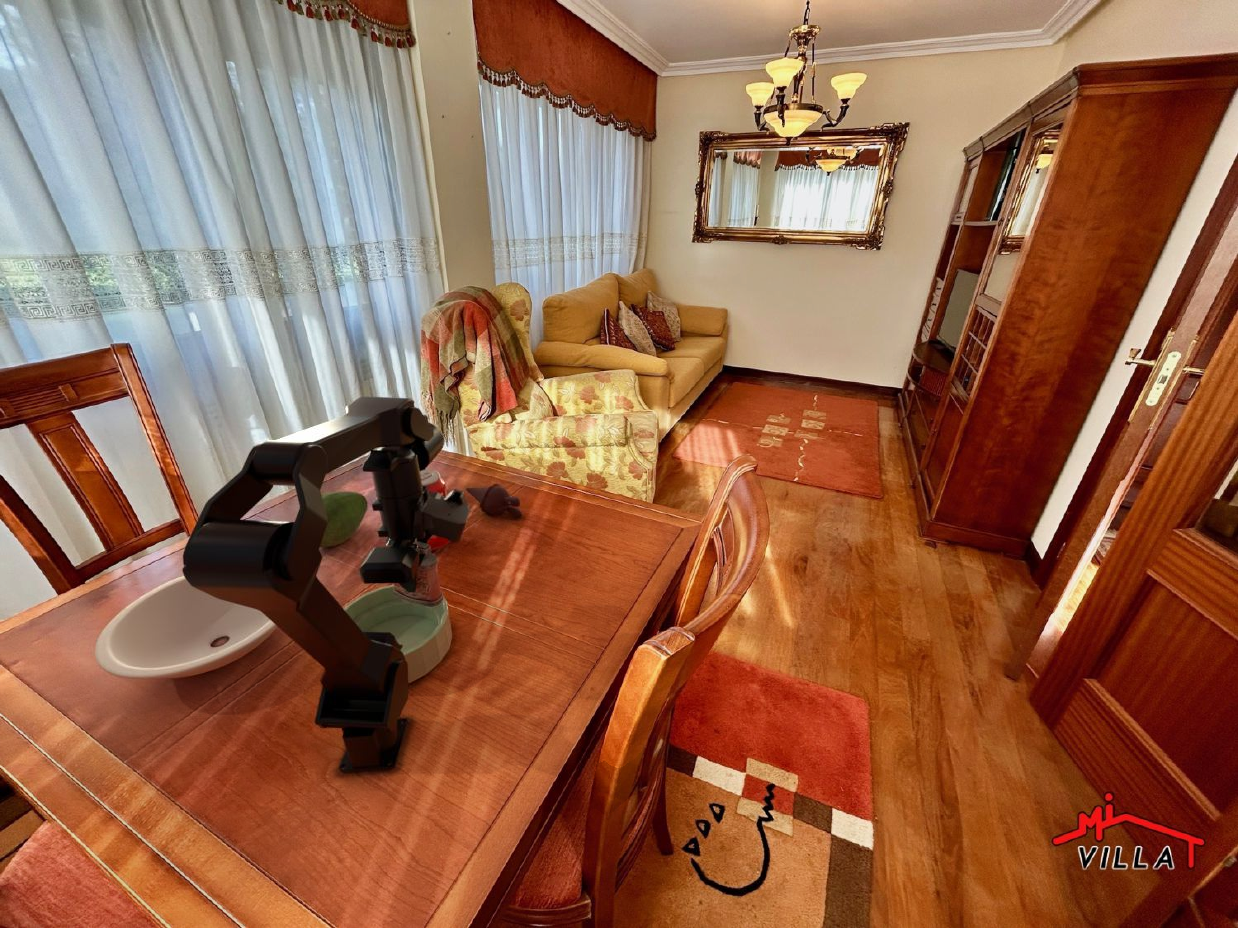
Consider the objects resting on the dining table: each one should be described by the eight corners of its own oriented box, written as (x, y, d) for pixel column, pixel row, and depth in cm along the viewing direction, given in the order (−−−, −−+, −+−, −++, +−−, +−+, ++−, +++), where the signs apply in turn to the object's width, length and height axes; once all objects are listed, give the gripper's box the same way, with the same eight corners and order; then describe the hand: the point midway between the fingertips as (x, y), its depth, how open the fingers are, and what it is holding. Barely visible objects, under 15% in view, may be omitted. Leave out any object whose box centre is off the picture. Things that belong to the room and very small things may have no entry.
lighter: (388, 595, 74) (376, 540, 70) (404, 582, 77) (394, 527, 73) (433, 610, 72) (424, 553, 67) (448, 595, 75) (440, 540, 70)
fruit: (348, 513, 110) (338, 473, 106) (386, 521, 108) (378, 481, 103) (289, 552, 97) (275, 508, 93) (331, 563, 95) (319, 518, 90)
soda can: (461, 537, 103) (452, 473, 97) (432, 558, 97) (420, 491, 90) (433, 527, 106) (423, 464, 100) (403, 546, 100) (390, 480, 93)
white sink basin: (341, 624, 81) (332, 593, 78) (160, 744, 62) (139, 708, 59) (261, 573, 91) (250, 543, 89) (86, 662, 73) (65, 628, 70)
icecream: (452, 487, 109) (508, 510, 104) (473, 467, 114) (528, 487, 109) (459, 509, 114) (513, 532, 109) (479, 489, 118) (532, 509, 113)
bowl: (439, 689, 71) (434, 659, 68) (318, 697, 69) (308, 666, 66) (460, 608, 85) (456, 581, 82) (361, 613, 83) (353, 585, 81)
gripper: (444, 525, 59) (459, 626, 65) (474, 458, 75) (483, 543, 82) (345, 527, 58) (371, 629, 65) (397, 458, 74) (413, 544, 81)
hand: (416, 581), depth 73 cm, fingers closed on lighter, 4 cm apart
